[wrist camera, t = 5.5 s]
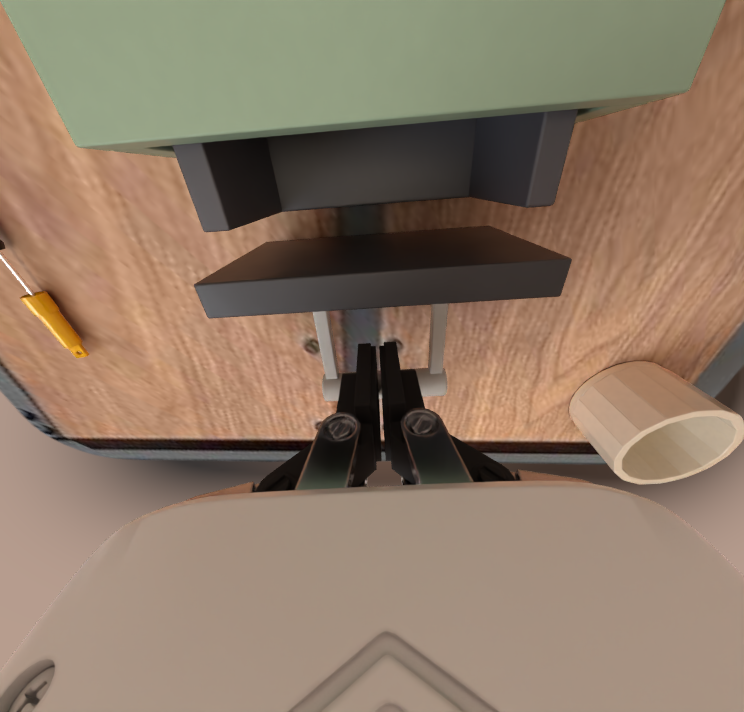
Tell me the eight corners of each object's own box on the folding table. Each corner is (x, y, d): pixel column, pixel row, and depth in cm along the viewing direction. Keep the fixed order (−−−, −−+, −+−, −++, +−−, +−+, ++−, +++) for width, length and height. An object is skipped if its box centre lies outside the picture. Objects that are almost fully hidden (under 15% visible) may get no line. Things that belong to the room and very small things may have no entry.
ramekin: (688, 357, 19) (776, 407, 15) (642, 427, 23) (702, 482, 19) (586, 363, 20) (644, 413, 15) (557, 431, 23) (597, 486, 19)
